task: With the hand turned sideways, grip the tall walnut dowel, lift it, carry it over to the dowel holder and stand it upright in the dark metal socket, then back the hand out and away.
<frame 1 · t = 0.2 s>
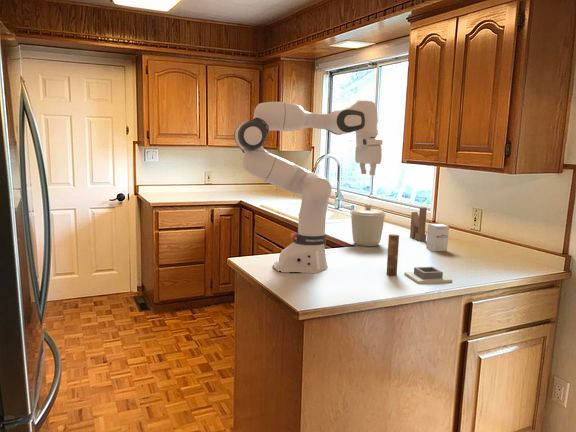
hand: (367, 174, 200), 39 cm above the counter, tool pointing down, fingers open, 8 cm apart
canister: (366, 244, 248), on the counter
supplement box: (436, 250, 240), on the counter
dowel holder: (427, 278, 190), on the counter
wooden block: (417, 239, 264), on the counter
walnut dowel: (391, 274, 194), on the counter
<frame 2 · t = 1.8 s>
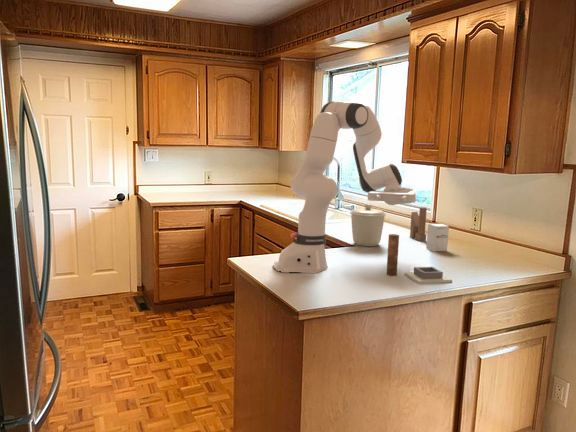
hand: (390, 198, 203), 29 cm above the counter, tool horizontal, fingers open, 8 cm apart
nothing on the counter moved.
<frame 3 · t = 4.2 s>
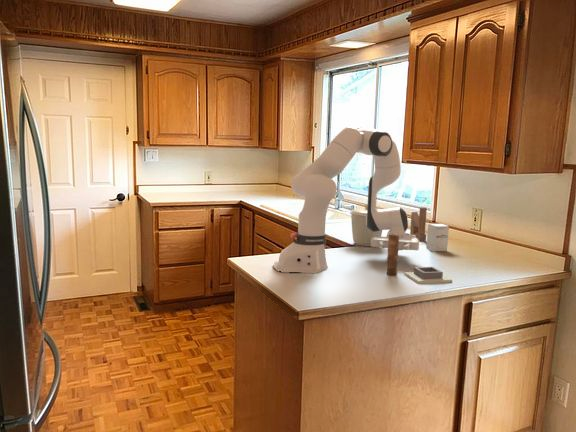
hand: (394, 247, 203), 9 cm above the counter, tool horizontal, fingers open, 8 cm apart
nothing on the counter moved.
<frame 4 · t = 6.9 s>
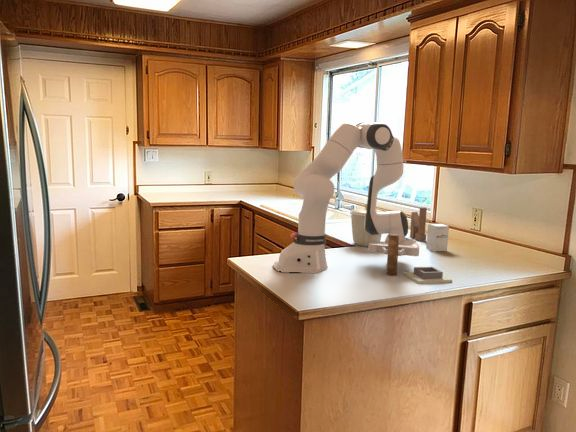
hand: (392, 252, 192), 9 cm above the counter, tool horizontal, fingers closed on walnut dowel, 4 cm apart
walnut dowel: (391, 274, 194), on the counter, touching gripper
everything else where it was.
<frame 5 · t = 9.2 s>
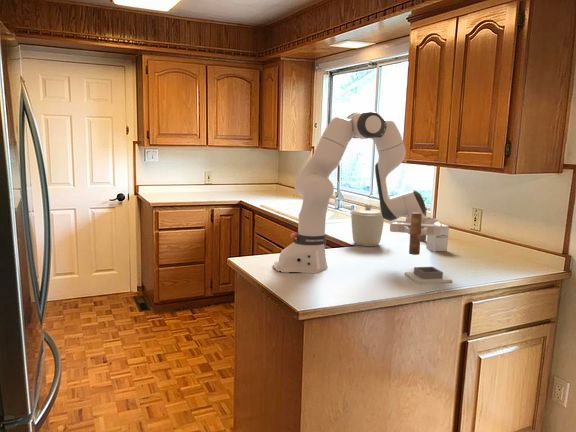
hand: (415, 231, 188), 18 cm above the counter, tool horizontal, fingers closed on walnut dowel, 4 cm apart
walnut dowel: (414, 253, 191), point 9 cm above the counter, touching gripper
everything else where it was.
when the fingers open (11 cm above the counter, at t = 11.7 s): walnut dowel drops 1 cm, resting on dowel holder.
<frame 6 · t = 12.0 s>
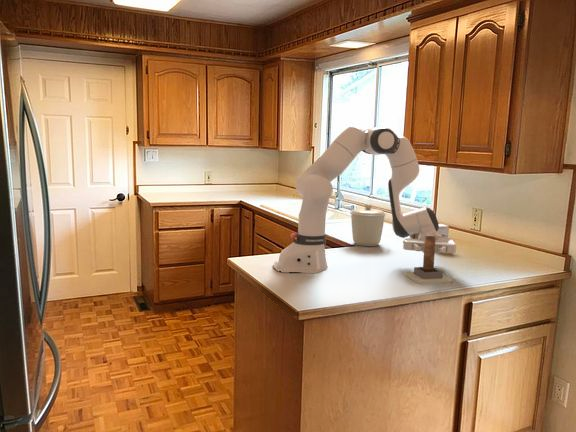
hand: (429, 250, 187), 11 cm above the counter, tool horizontal, fingers open, 7 cm apart
walnut dowel: (427, 275, 190), point 1 cm above the counter, touching dowel holder
everything else where it was.
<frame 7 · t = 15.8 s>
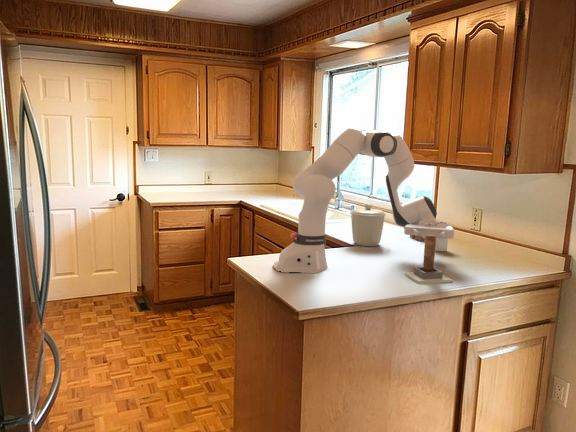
hand: (429, 234, 199), 15 cm above the counter, tool horizontal, fingers open, 8 cm apart
nothing on the counter moved.
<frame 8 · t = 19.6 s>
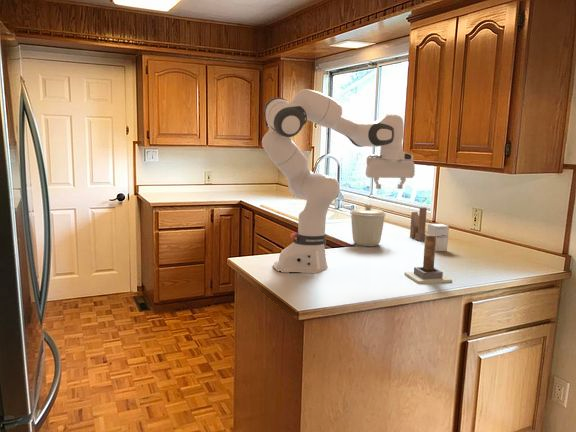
hand: (389, 188, 201), 33 cm above the counter, tool pointing down, fingers open, 8 cm apart
nothing on the counter moved.
at the end: walnut dowel 0.0 cm off-centre on the dowel holder, point 1.0 cm above the dowel holder's base; walnut dowel tilted 0°; the gripper is holding nothing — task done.
